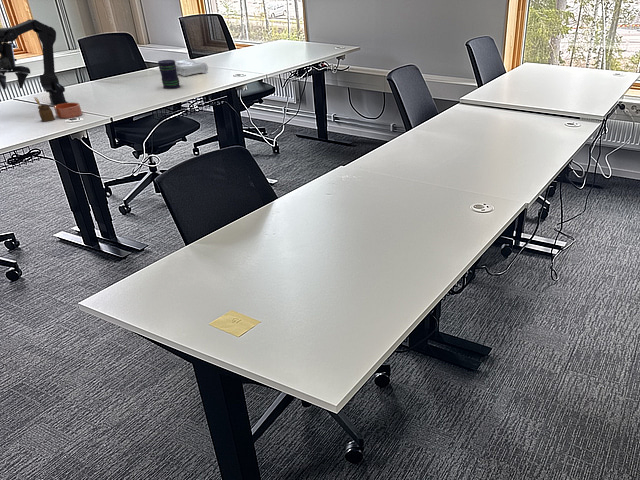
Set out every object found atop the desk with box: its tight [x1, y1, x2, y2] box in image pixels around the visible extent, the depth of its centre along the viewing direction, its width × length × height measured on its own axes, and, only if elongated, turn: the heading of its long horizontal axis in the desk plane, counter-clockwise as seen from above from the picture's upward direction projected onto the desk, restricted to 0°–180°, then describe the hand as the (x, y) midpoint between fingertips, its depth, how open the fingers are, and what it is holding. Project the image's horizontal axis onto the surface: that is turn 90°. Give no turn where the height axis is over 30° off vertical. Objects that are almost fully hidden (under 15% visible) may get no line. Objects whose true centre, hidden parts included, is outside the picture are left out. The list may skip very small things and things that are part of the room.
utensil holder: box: [33, 96, 55, 122], centre depth 285 cm, size 6×6×12 cm
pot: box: [53, 102, 83, 119], centre depth 294 cm, size 12×12×5 cm
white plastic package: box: [174, 58, 209, 77], centre depth 383 cm, size 19×28×8 cm
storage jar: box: [157, 59, 181, 90], centre depth 344 cm, size 10×10×15 cm
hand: (12, 88), depth 285 cm, fingers open, 9 cm apart
